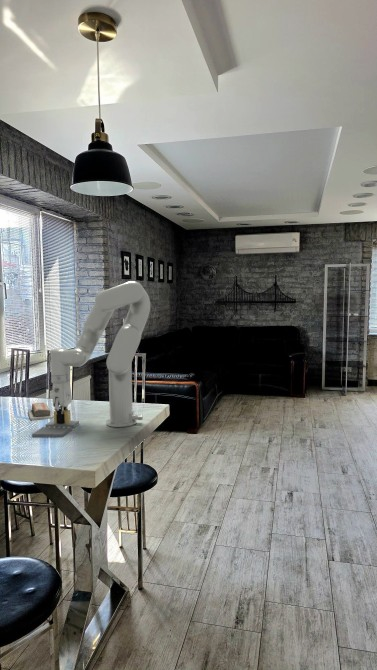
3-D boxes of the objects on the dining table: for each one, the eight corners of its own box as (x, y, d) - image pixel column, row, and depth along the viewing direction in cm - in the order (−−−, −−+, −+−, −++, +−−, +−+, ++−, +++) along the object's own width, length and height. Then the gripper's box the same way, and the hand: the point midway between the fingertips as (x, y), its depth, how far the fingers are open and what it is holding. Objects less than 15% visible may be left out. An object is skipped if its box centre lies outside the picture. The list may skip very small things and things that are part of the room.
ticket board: (71, 429, 177) (71, 426, 177) (62, 437, 167) (62, 433, 167) (42, 429, 178) (42, 426, 178) (32, 437, 168) (32, 433, 168)
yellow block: (78, 423, 186) (78, 409, 186) (74, 427, 180) (73, 412, 180) (51, 423, 187) (50, 409, 187) (45, 427, 181) (45, 412, 181)
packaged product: (27, 403, 209) (49, 401, 213) (27, 413, 209) (49, 410, 213) (30, 411, 193) (53, 408, 197) (30, 422, 193) (54, 419, 197)
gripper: (62, 381, 174) (64, 427, 175) (76, 375, 190) (77, 417, 191) (44, 381, 174) (45, 427, 176) (59, 375, 191) (60, 417, 192)
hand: (62, 421), depth 183 cm, fingers closed on yellow block, 3 cm apart
